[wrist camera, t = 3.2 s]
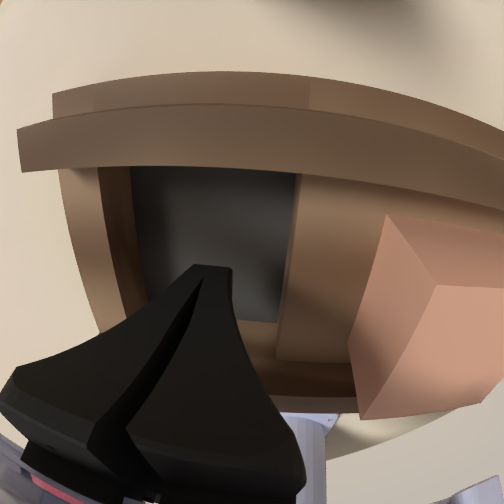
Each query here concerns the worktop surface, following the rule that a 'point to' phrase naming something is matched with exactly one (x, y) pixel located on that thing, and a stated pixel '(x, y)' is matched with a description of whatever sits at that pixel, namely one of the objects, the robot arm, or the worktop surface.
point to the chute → (259, 201)
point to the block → (429, 320)
